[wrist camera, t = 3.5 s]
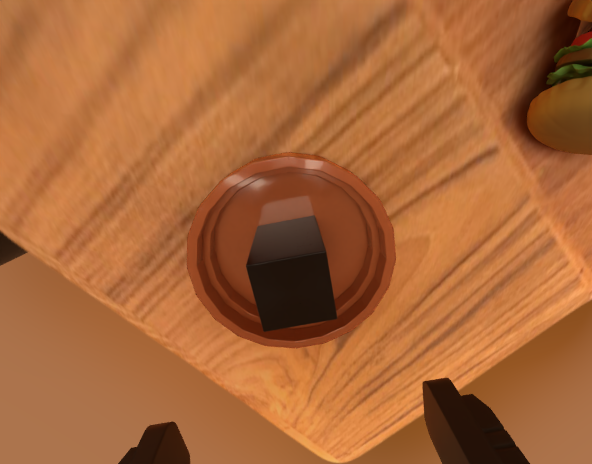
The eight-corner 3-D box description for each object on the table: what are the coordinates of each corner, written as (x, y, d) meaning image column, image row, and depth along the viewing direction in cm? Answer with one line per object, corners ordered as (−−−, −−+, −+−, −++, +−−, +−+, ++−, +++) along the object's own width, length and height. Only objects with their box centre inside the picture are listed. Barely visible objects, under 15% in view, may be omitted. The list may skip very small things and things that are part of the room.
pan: (227, 333, 27) (219, 362, 24) (176, 173, 22) (157, 181, 19) (387, 304, 26) (402, 330, 23) (370, 135, 22) (386, 136, 18)
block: (269, 277, 25) (263, 332, 18) (257, 225, 23) (245, 265, 17) (323, 267, 24) (337, 319, 18) (315, 214, 23) (326, 250, 16)
